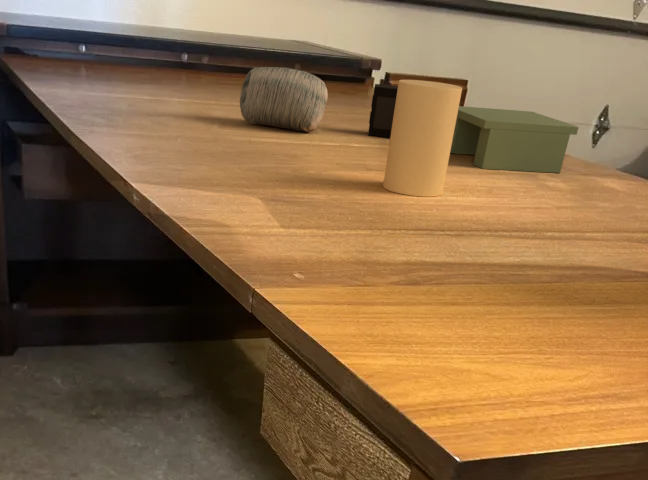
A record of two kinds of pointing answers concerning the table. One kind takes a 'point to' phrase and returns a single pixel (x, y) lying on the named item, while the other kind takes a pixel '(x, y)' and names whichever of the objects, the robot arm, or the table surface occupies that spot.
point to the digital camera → (382, 110)
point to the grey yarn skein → (283, 98)
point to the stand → (511, 139)
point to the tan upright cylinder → (421, 137)
